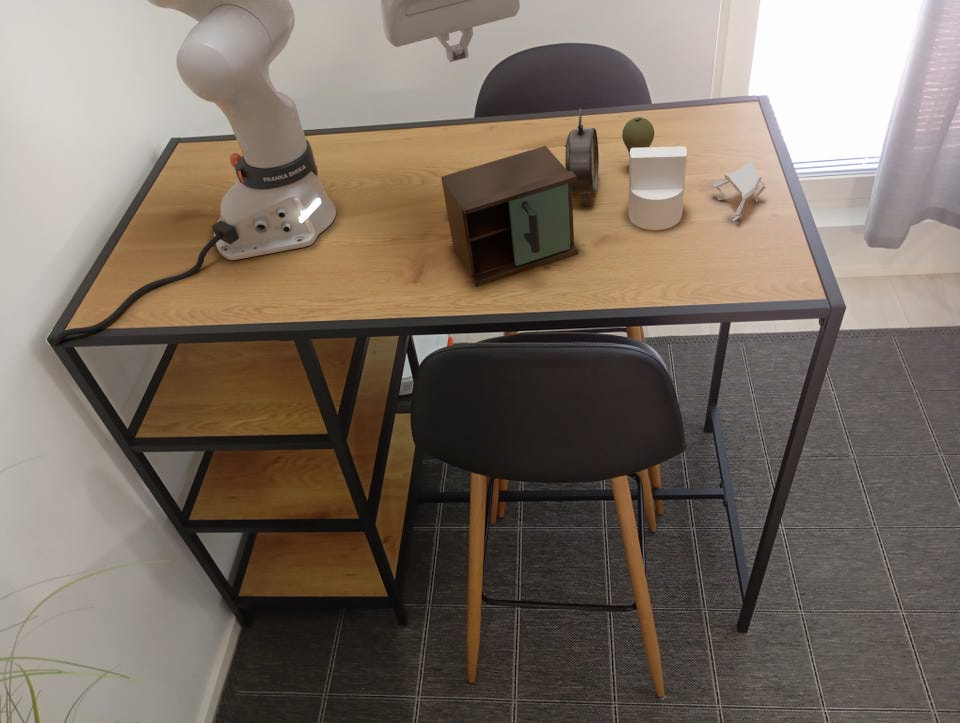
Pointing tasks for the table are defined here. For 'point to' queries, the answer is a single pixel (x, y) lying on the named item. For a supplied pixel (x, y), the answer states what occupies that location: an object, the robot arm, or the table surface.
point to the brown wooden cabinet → (499, 210)
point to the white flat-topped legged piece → (742, 184)
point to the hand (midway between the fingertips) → (457, 58)
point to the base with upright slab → (656, 186)
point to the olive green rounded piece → (638, 133)
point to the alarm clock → (583, 159)
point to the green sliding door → (540, 224)
